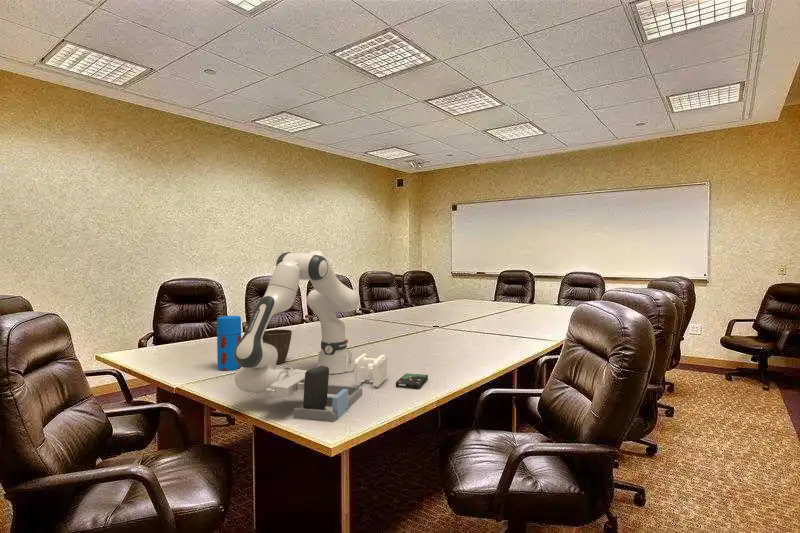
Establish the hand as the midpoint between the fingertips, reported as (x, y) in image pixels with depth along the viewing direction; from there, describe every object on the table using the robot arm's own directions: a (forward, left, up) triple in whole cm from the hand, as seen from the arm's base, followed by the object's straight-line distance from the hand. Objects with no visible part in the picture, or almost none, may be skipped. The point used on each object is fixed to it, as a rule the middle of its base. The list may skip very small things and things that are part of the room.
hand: (313, 384), depth 151 cm
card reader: (0, 0, -9) cm, 9 cm away
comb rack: (-7, +3, -9) cm, 12 cm away
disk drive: (-40, +27, -10) cm, 49 cm away
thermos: (-44, -65, -9) cm, 80 cm away
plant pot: (-59, -48, -9) cm, 77 cm away
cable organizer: (-36, +10, -10) cm, 39 cm away
